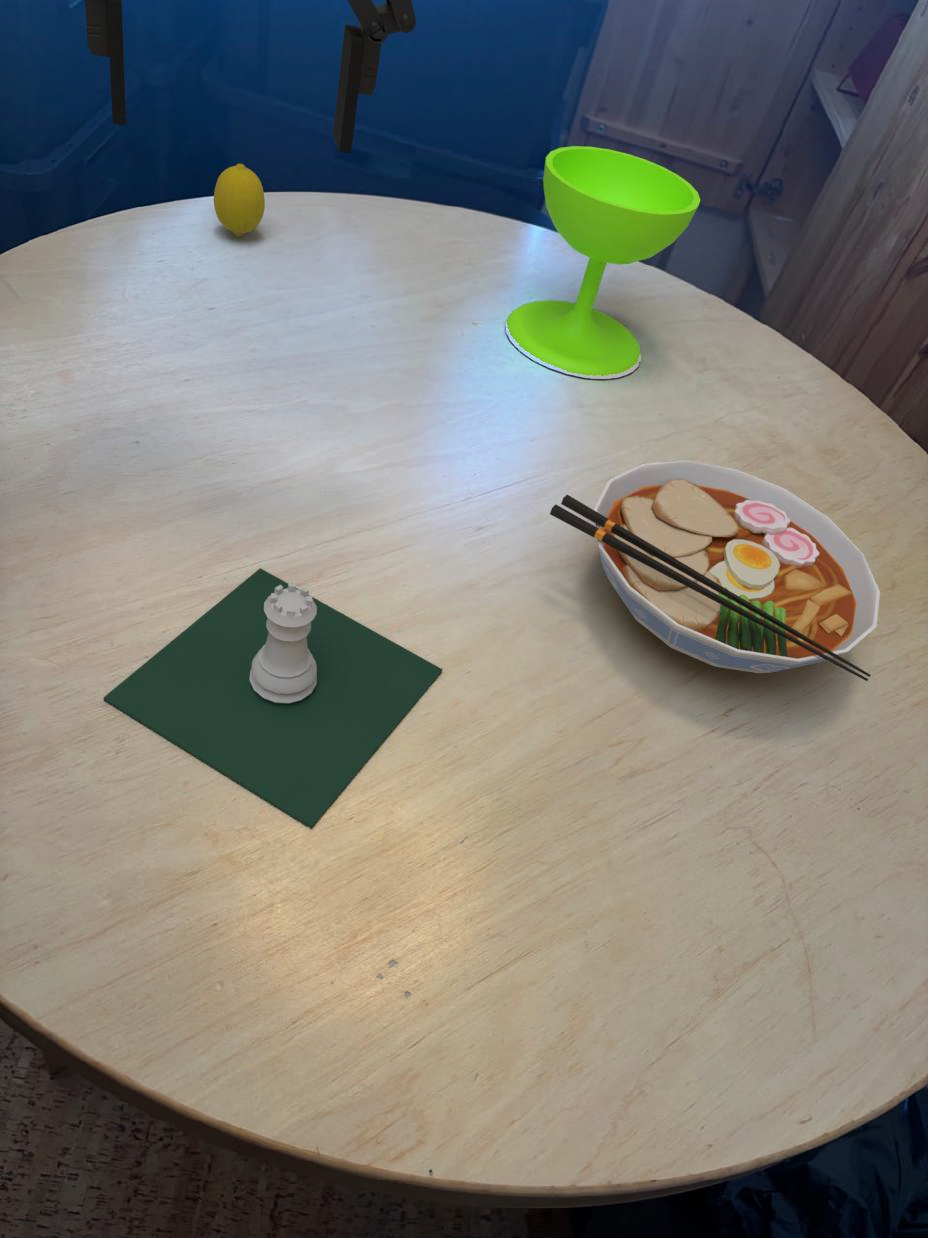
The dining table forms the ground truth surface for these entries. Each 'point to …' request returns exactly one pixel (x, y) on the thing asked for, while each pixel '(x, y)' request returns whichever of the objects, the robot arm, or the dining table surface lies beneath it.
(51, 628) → the dining table surface
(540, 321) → the wineglass
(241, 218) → the lemon
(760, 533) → the ramen bowl
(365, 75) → the robot arm
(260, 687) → the rook chess piece
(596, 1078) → the dining table surface
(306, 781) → the mat
